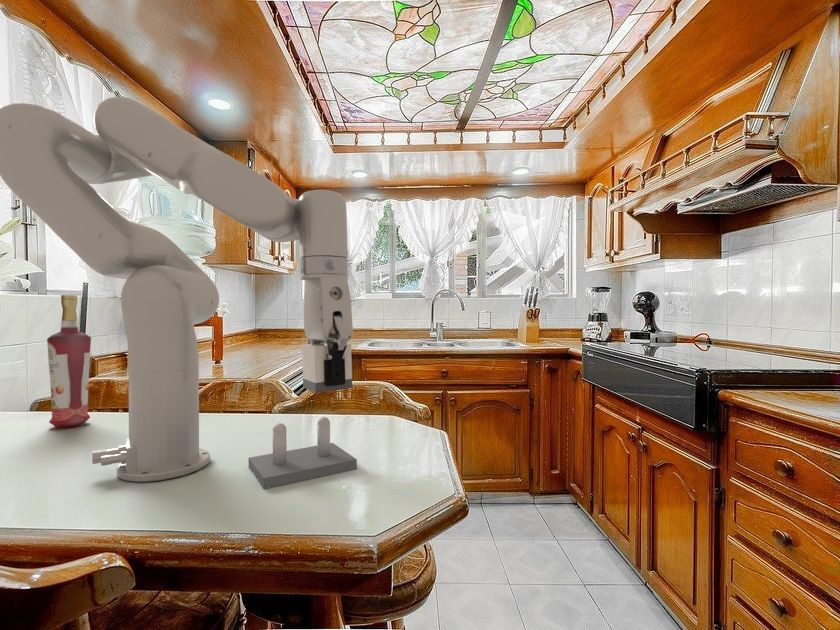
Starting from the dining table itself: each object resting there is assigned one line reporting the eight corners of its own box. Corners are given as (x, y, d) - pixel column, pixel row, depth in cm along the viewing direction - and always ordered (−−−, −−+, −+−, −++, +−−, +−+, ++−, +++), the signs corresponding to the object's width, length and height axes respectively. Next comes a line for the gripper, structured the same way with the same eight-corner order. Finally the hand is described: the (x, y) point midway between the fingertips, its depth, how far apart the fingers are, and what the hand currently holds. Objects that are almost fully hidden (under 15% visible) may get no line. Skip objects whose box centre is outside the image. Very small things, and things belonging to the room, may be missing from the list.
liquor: (97, 424, 94) (96, 295, 94) (55, 432, 88) (54, 294, 88) (83, 419, 98) (82, 296, 98) (42, 427, 92) (40, 295, 91)
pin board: (263, 489, 60) (263, 434, 60) (248, 467, 68) (248, 419, 68) (356, 468, 67) (356, 420, 67) (332, 451, 76) (332, 408, 76)
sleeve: (352, 388, 69) (351, 344, 69) (315, 392, 65) (314, 346, 65) (337, 383, 74) (336, 342, 74) (303, 387, 70) (302, 344, 70)
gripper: (369, 265, 64) (372, 387, 64) (327, 275, 79) (329, 374, 79) (320, 264, 60) (323, 393, 60) (285, 274, 75) (288, 378, 75)
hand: (327, 381), depth 70 cm, fingers closed on sleeve, 6 cm apart
